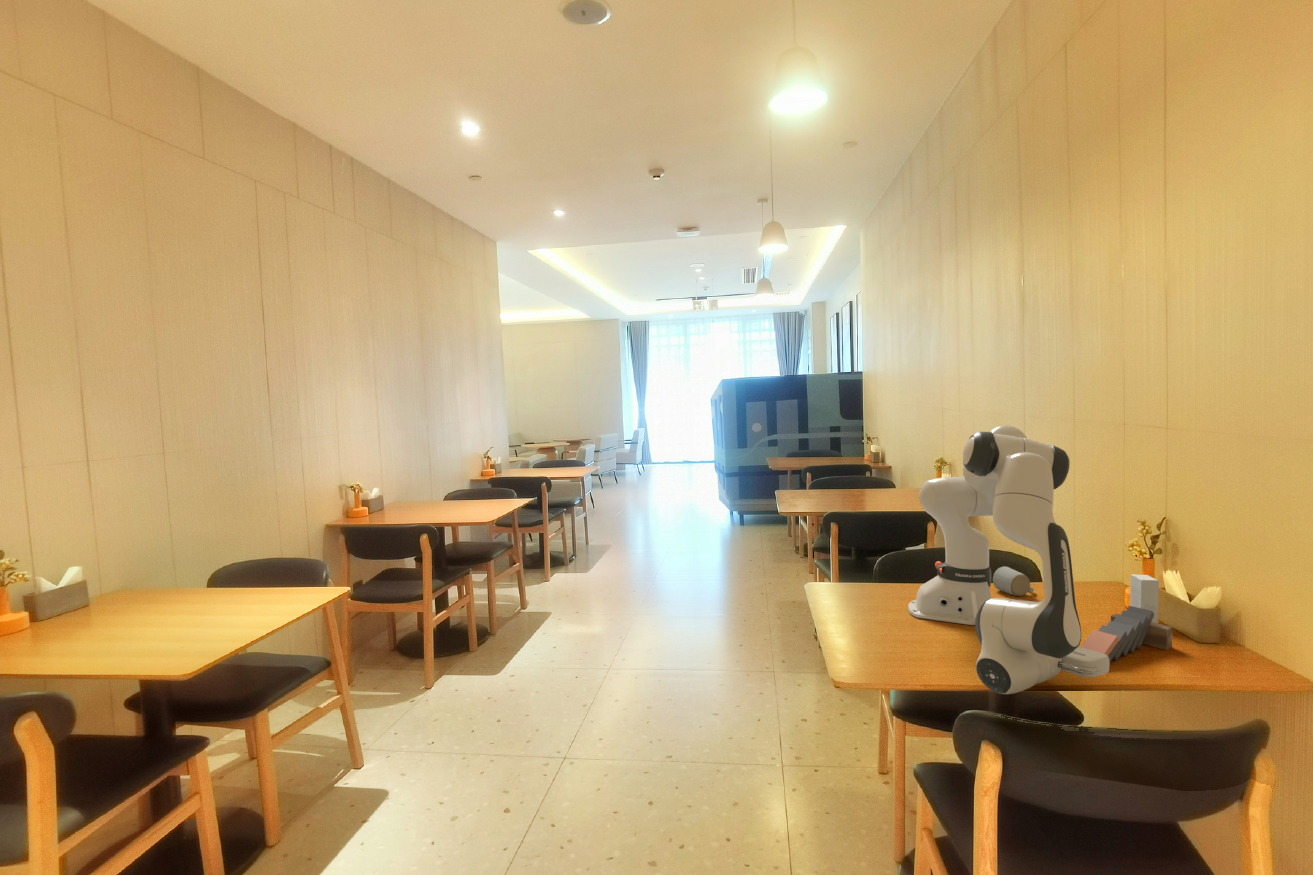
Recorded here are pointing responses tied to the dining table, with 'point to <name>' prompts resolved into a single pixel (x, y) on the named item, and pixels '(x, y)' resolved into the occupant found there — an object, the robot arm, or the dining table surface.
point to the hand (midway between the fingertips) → (1070, 643)
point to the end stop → (1156, 635)
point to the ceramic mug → (1011, 581)
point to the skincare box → (1145, 593)
